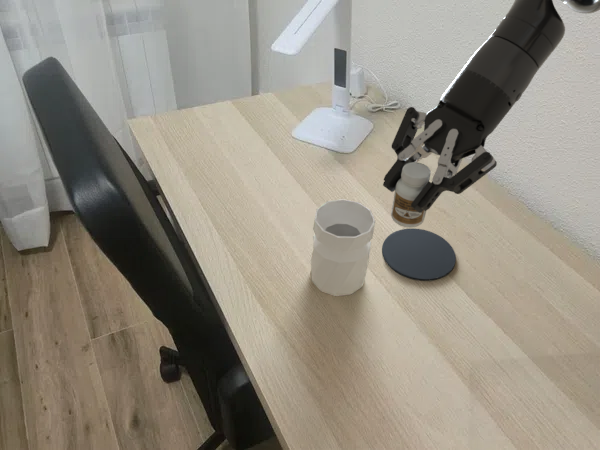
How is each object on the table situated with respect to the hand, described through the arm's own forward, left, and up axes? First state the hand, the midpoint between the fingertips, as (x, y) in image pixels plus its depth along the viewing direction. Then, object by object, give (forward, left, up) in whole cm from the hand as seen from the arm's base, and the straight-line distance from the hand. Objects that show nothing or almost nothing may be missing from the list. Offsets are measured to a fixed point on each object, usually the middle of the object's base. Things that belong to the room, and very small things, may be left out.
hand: (401, 198), depth 69 cm
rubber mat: (-8, -10, -20) cm, 24 cm away
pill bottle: (-2, -1, -4) cm, 5 cm away
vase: (+6, -6, -20) cm, 22 cm away
